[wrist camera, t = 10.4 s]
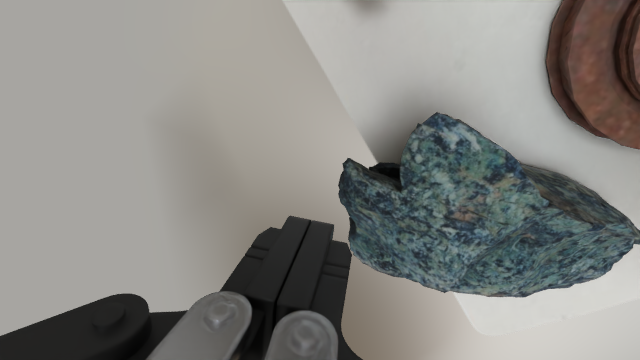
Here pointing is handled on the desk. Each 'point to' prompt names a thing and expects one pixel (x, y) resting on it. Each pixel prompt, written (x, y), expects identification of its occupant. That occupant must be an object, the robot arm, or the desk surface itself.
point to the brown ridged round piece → (598, 66)
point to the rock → (478, 218)
